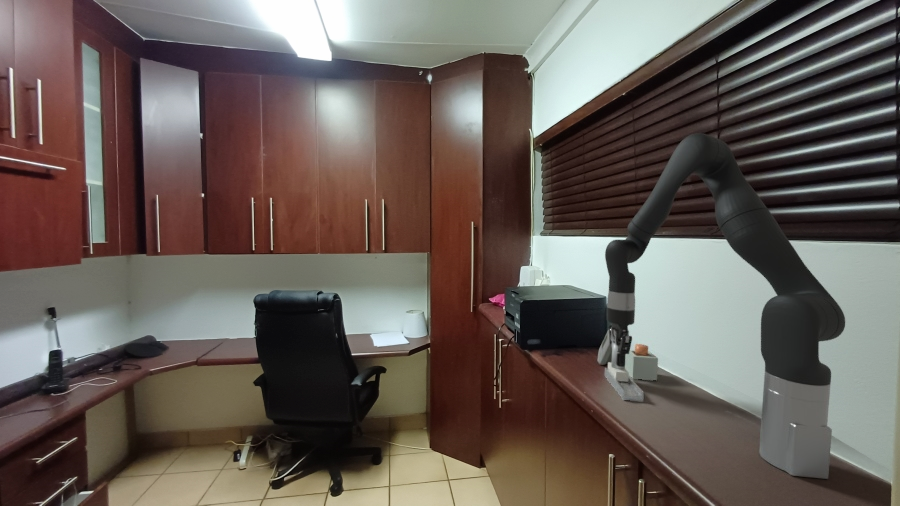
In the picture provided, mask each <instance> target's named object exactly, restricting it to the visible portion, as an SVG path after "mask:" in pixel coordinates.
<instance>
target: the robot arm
mask: <svg viewBox="0 0 900 506" xmlns="http://www.w3.org/2000/svg"><path fill="white" fill-rule="evenodd" d="M691 175H696V176H698V177H699V178H700V179H701V180H702V181H703V182H704V184H705V185H706V187H707V188H708V190H709V191H710V193H711V195H712V197H713V200H714V215H715V220H716V224H717V225H718V228H719V230H720V231H721V233H722V235H723V237H724V238H725V240H726V242H727V244H728V245H729V246H730V247H731V249H732V250H733V251H734V252H735V253H736V254H737V256H739V257H740V258H741V259H742V260H743V261H744V262H745V263H747V264H748V265H750V266H751V267H752V268H753V269H755V271H756V272H758V273H759V274H760V275H762V276H763V277H764V279H765V280H766V281H767V282H768V283H769V285H770V286H771V287H772V289H773V290H774V292H775V294H776V295H775V296H773V297H771V298H770V299H769V300H767V302H765V304H764V306H763V309H762V311H761V317H760V318H761V319H760V351H761V352H760V353H761V356H762V359H763V361H764V375H763V376H764V377H763V378H764V379H763V390H762V391H763V392H762V403H761V404H762V405H761V406H762V407H761V421H760V436H759V451H758V452H759V455H760V457H761V458H762V459H763V460H765V461H766V462H767V463H769V464H771V465H772V466H774V467H775V468H777V469H779V470H782V471H784V472H786V473H788V474H789V476H794V477H802V478H803V477H805V478H815V479H816V478H817V479H823V480H824V479H826V480H829V472H830V470H829V469H830V461H831V459H830V458H831V449H832V447H831V445H832V434H833V433H832V432H833V431H832V430H833V429H832V428H831V427H829V426H828V420H829V419H828V418H829V405H830V396H831V395H830V394H831V382H832V370H831V368H830V367H829V366H828V365H826V364H824V363H823V362H821V361H820V357H819V356H820V355H819V354H820V353H819V351H820V350H819V349H820V347H819V346H820V345H819V342H828V341H831V340H834V339H836V338H838V337H839V336H841V335H842V334H843V332H844V330H845V328H846V316H845V314H844V311H843V309H842V307H841V306H840V305H839V304H838V302H837V301H836V300H835V299H834V297H833V296H832V295H831V294H830V293H829V291H828V290H827V289H826V288H825V287H824V286H823V285H822V283H821V282H820V281H819V280H818V279H817V278H816V277H815V275H814V274H813V273H812V271H811V270H810V269H809V268H808V266H807V265H806V264H805V263H804V261H803V260H802V258H801V257H800V256H799V253H798V252H797V251H796V249H795V247H794V246H793V245H792V244H791V243H792V242H790V240H789V239H788V237H787V236H786V235H785V233H784V231H783V230H782V228H781V227H780V225H779V223H778V222H777V220H776V219H775V217H774V216H773V214H772V213H771V211H770V209H768V207H767V205H765V203H764V202H763V201H762V199H761V198H760V196H759V195H758V193H757V192H756V191H755V190H754V188H753V187H752V185H751V184H750V183H749V181H748V180H747V179H746V177H745V176H744V173H742V170H741V169H740V166H739V165H738V162H737V160H736V158H735V156H734V154H733V152H732V149H731V148H730V146H729V145H728V143H726V141H724V140H722V139H719V138H717V137H714V136H711V135H709V134H706V133H703V132H695V133H692V134H689V135H688V136H685V137H684V138H683V139H682V140H681V141H680V143H678V144H677V146H676V148H675V149H674V151H673V152H672V154H671V156H670V158H669V160H668V162H667V163H666V165H665V167H664V169H663V171H662V173H661V174H660V177H659V178H658V180H657V181H656V183H655V186H654V187H653V190H652V191H651V192H650V194H649V196H648V197H647V199H646V201H645V202H644V203H643V205H642V206H641V207H640V209H639V210H638V211H637V213H636V214H635V215H634V217H633V218H632V219H631V220H630V222H629V223H628V225H627V232H628V235H627V236H626V238H625V239H613V240H611V241H610V242H609V243H608V244H607V245H606V248H605V252H604V253H605V254H604V257H605V258H604V260H605V263H606V268H607V269H606V270H607V273H608V277H609V279H608V293H607V301H606V321H607V322H608V323H610V325H609V324H608V330H609V341H610V342H609V343H610V345H611V347H612V344H613V343H615V345H616V346H617V361H616V365H617V366H620V367H624V366H625V355H626V354H629V351H630V350H631V346H632V341H633V337H632V335H630V331H629V328H628V326H632V325H634V324H635V316H636V315H635V313H636V296H635V295H636V294H635V293H636V276H635V274H634V273H633V272H630V270H629V265H628V264H633V263H635V262H637V261H638V260H639V259H640V258H641V257H642V256H643V254H644V253H645V251H646V249H647V248H648V246H649V244H650V241H651V239H652V238H653V236H654V235H655V234H657V232H658V230H660V228H661V227H662V226H663V225H664V223H665V222H666V221H667V219H668V217H669V215H670V213H671V210H672V207H673V204H674V200H675V198H676V195H677V193H678V191H679V189H680V188H681V186H682V185H683V183H685V182H686V181H687V180H688V178H690V176H691ZM623 348H624V349H623Z"/></svg>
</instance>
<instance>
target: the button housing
mask: <svg viewBox="0 0 900 506" xmlns="http://www.w3.org/2000/svg"><path fill="white" fill-rule="evenodd" d="M658 364H659V358H658V357H657V356H656V355H655V354H653V353H652V352H651V351H649V350H648V356H636V355H635V349H630V351H629V354H626V355H625V369H626V370H627V371H628V372H629V377H630V378H631V377H632V378H633V379H632V378H631V379H632V380H638V379H642V380H641V381H643V380H644V381H653V380H656V382H657V381H658V369H659V368H658V366H659V365H658Z"/></svg>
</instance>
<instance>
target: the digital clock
mask: <svg viewBox="0 0 900 506" xmlns="http://www.w3.org/2000/svg"><path fill="white" fill-rule="evenodd" d="M609 342H610V341H609V329H608V330H607V332H606V334H605V336H604V338H603V340H602V342H601V345H600V347H599V349H598V354H597V362H598V365H600V366H605V365H606V364H607V365H608V362H611V363H612V347H611V345H610V343H609Z"/></svg>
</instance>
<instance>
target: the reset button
mask: <svg viewBox="0 0 900 506" xmlns="http://www.w3.org/2000/svg"><path fill="white" fill-rule="evenodd" d="M634 350H635V355H636V356H648V351H649V346H648V345H645V344H641V343H639V344H638V343H636V344H635V346H634Z"/></svg>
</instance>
